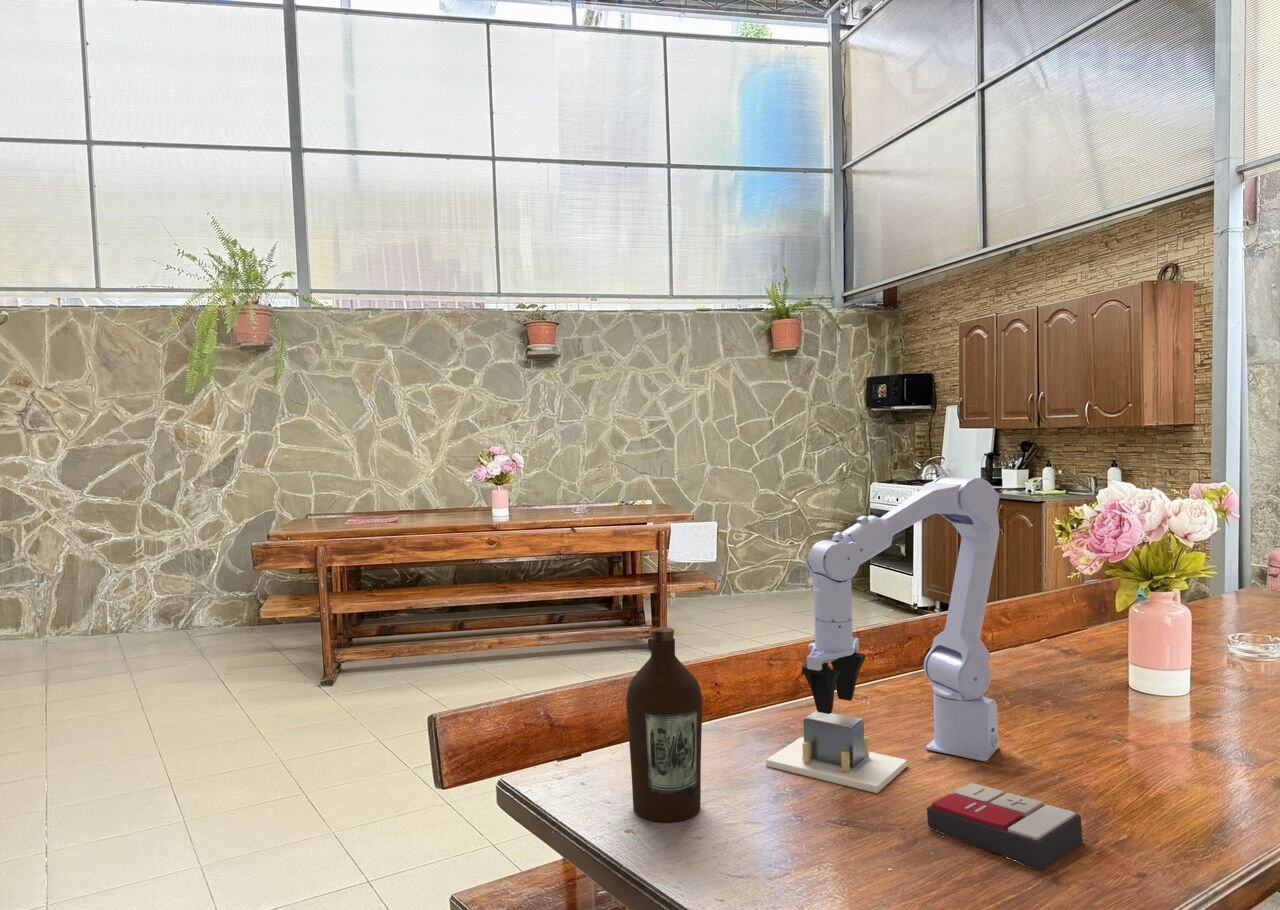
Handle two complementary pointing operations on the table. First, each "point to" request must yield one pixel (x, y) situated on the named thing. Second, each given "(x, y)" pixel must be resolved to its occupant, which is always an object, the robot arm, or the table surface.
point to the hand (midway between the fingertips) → (835, 705)
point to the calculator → (1007, 824)
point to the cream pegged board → (839, 766)
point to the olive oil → (665, 734)
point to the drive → (834, 737)
